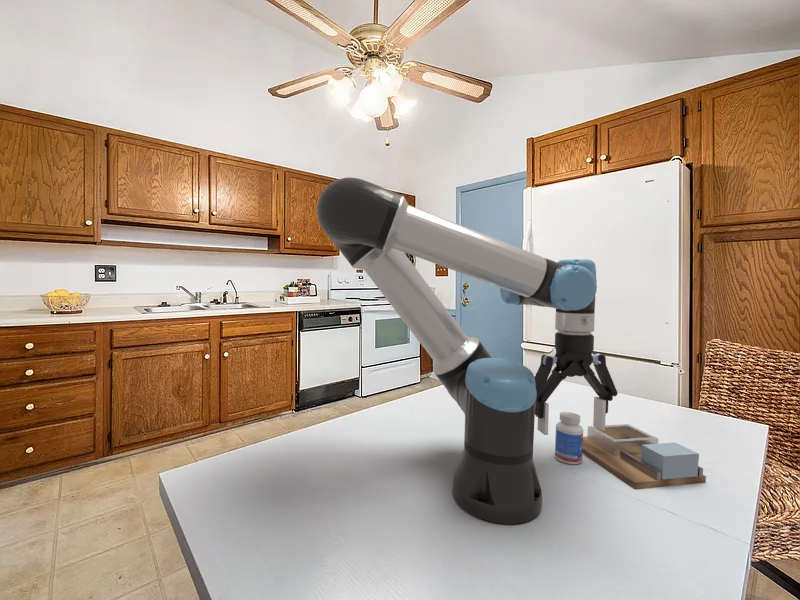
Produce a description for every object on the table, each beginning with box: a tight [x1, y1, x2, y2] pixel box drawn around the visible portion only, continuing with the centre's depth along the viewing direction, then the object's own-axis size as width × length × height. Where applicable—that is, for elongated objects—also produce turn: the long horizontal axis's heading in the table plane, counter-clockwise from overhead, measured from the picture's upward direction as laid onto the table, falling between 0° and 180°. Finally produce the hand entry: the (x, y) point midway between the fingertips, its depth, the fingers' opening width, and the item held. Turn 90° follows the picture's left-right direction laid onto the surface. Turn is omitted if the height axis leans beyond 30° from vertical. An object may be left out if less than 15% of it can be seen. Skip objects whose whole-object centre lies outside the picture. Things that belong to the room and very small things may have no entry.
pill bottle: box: [554, 411, 584, 465], centre depth 80 cm, size 6×5×10 cm
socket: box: [586, 423, 659, 455], centre depth 85 cm, size 11×8×3 cm
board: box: [582, 436, 707, 490], centre depth 80 cm, size 16×20×1 cm
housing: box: [641, 442, 700, 480], centre depth 73 cm, size 8×5×4 cm, turn 101°
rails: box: [620, 450, 704, 481], centre depth 75 cm, size 10×9×2 cm
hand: (571, 430), depth 80 cm, fingers open, 13 cm apart
